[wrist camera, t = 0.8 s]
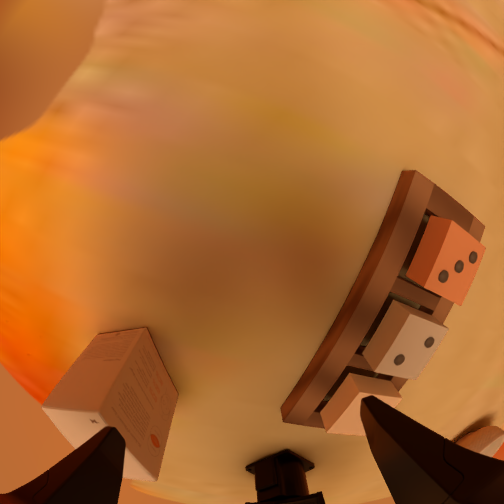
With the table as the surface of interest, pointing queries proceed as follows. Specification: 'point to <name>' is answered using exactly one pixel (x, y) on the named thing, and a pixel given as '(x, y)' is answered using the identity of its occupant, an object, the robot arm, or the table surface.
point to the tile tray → (377, 294)
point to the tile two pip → (404, 341)
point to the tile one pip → (355, 403)
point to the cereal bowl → (483, 440)
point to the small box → (118, 399)
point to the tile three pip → (446, 259)
